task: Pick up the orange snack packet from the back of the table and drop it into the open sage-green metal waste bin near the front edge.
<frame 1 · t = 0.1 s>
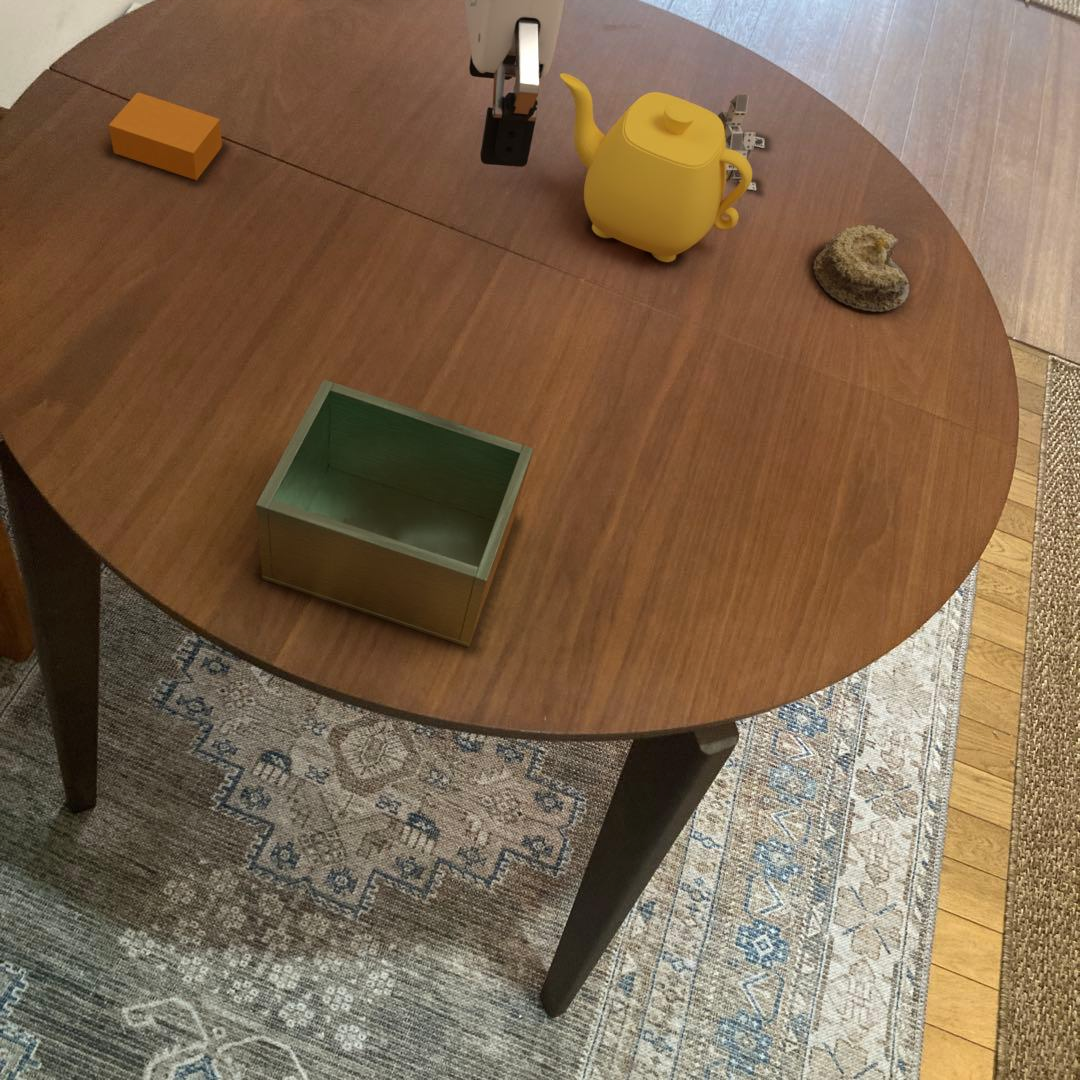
hand: (496, 117, 74), 21 cm above the table, tool pointing down, fingers open, 9 cm apart
cake: (859, 281, 105), on the table
packet: (168, 149, 97), on the table
teapot: (629, 218, 103), on the table
house of cards: (739, 164, 112), on the table
bin: (392, 549, 78), on the table
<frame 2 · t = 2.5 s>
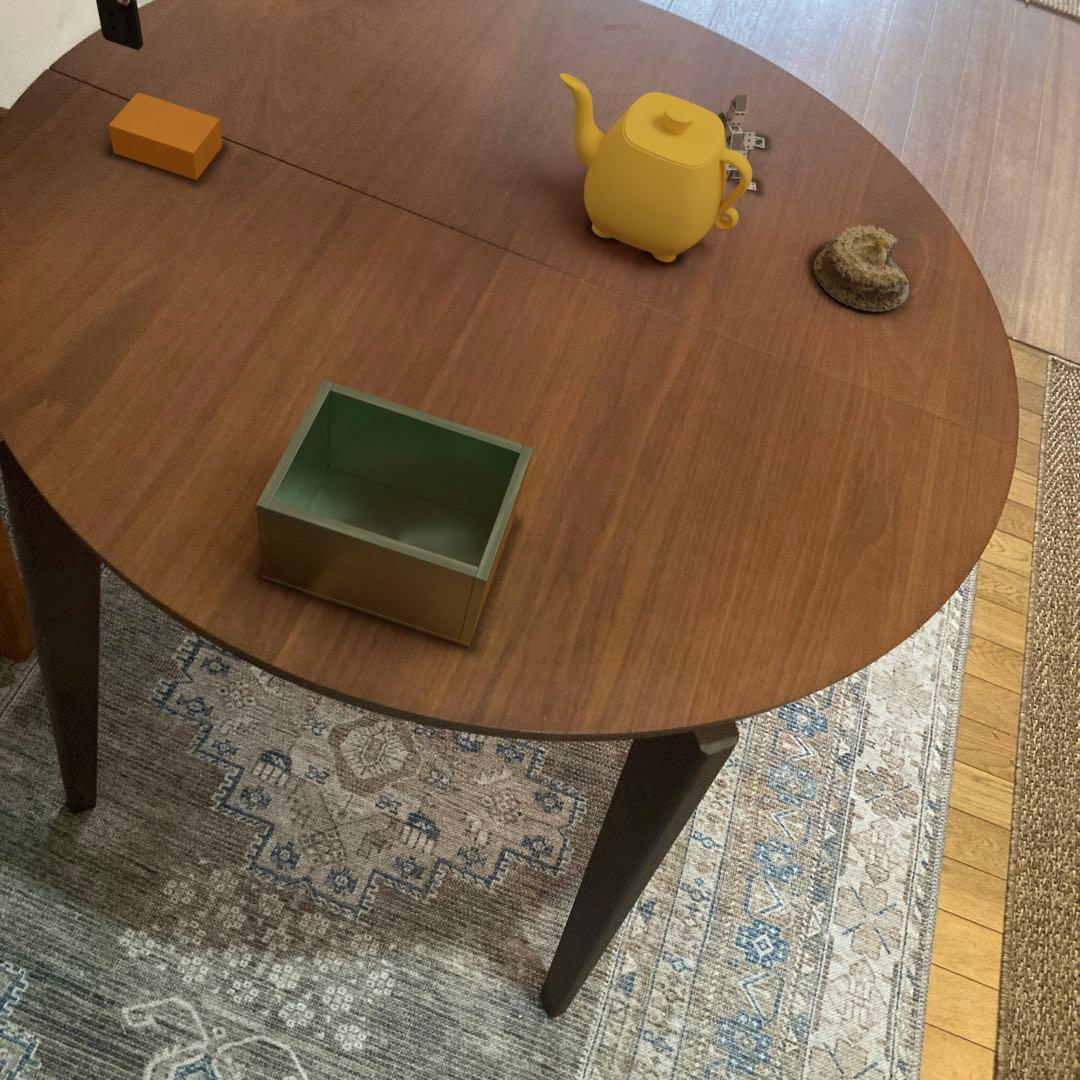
hand: (152, 12, 86), 13 cm above the table, tool pointing down, fingers open, 9 cm apart
nothing on the table moved.
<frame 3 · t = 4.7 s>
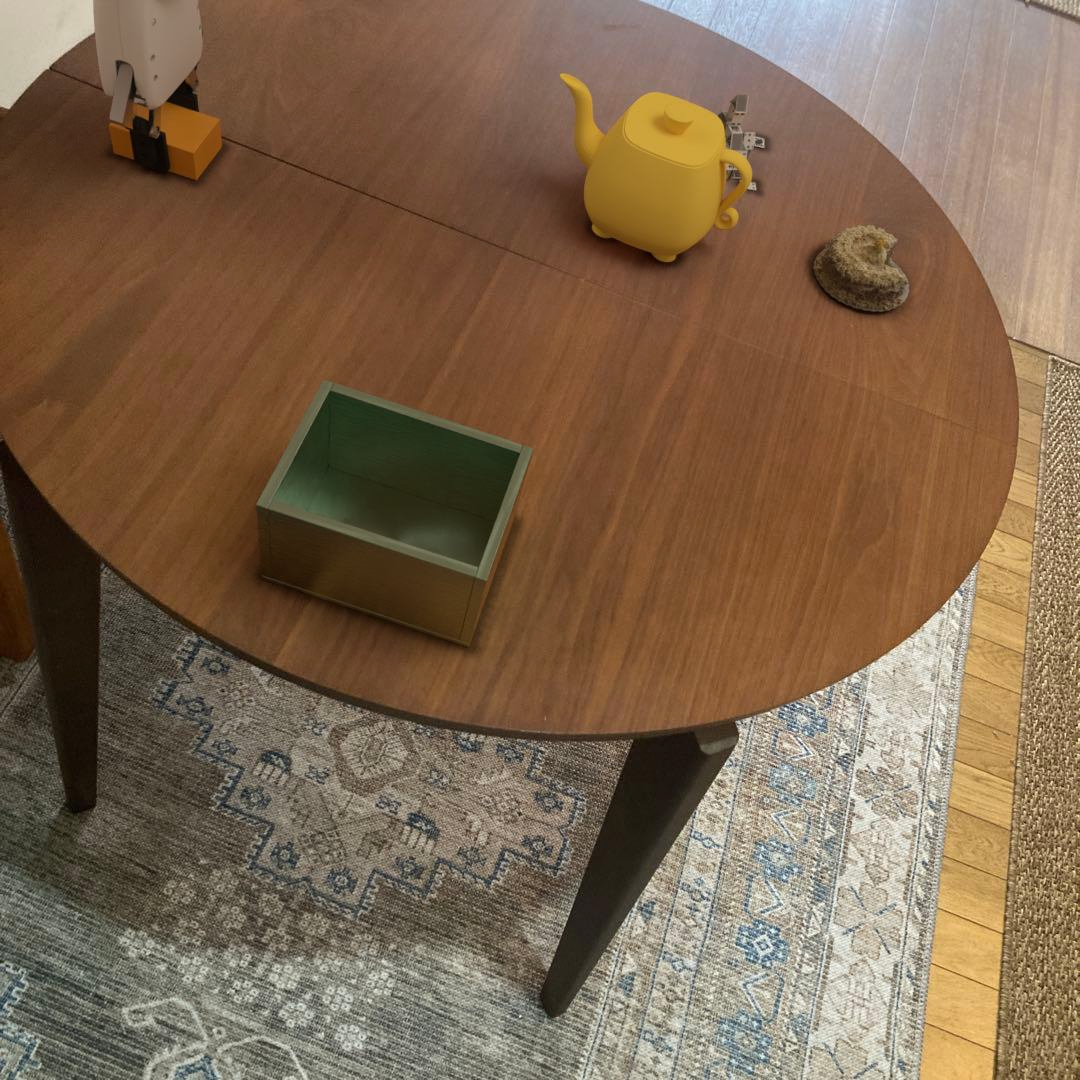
hand: (168, 145, 96), 1 cm above the table, tool pointing down, fingers closed on packet, 5 cm apart
packet: (168, 149, 97), on the table, touching gripper
everything else where it was.
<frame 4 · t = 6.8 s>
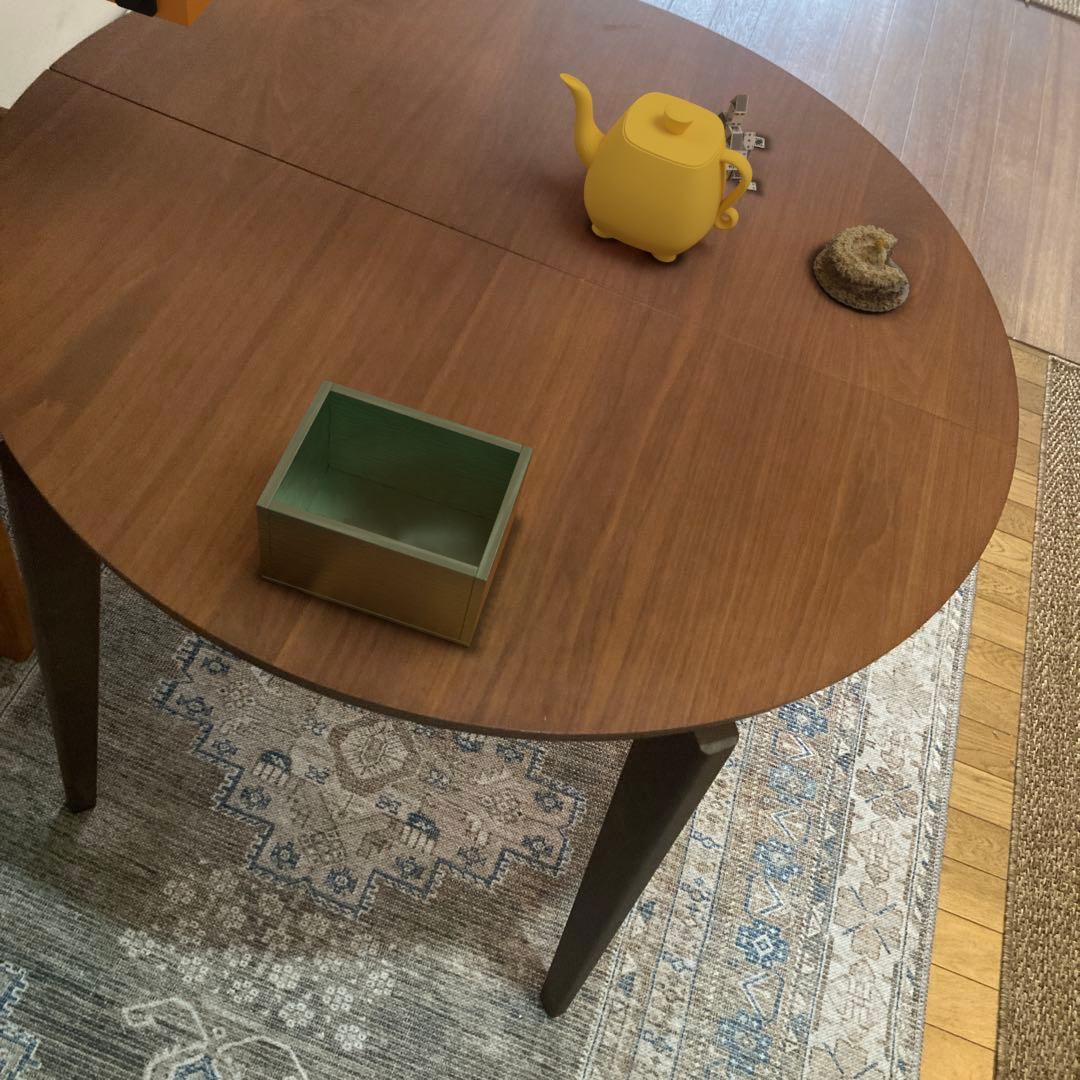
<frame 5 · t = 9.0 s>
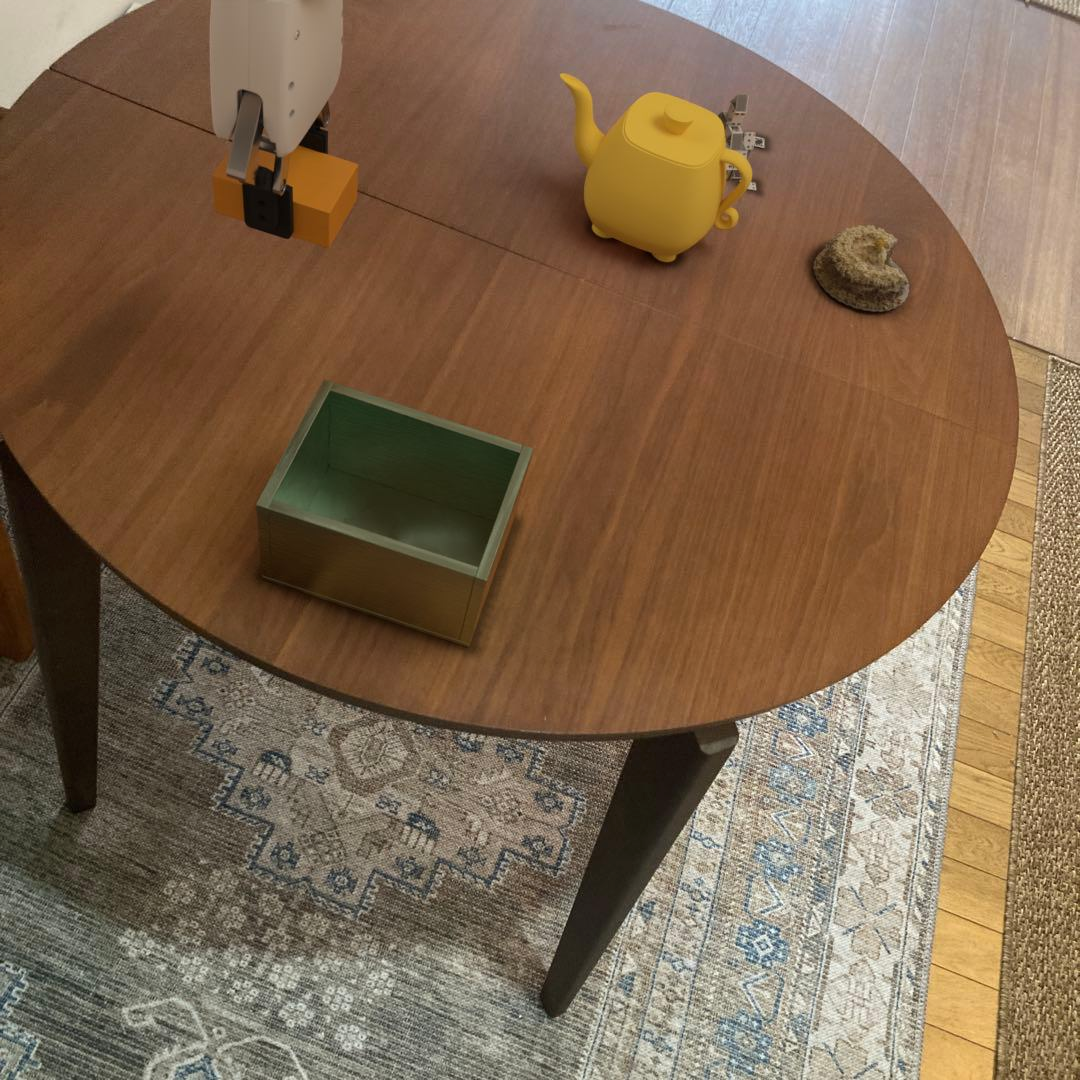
hand: (287, 200, 71), 17 cm above the table, tool pointing down, fingers closed on packet, 5 cm apart
packet: (287, 206, 71), point 17 cm above the table, touching gripper
everything else where it was.
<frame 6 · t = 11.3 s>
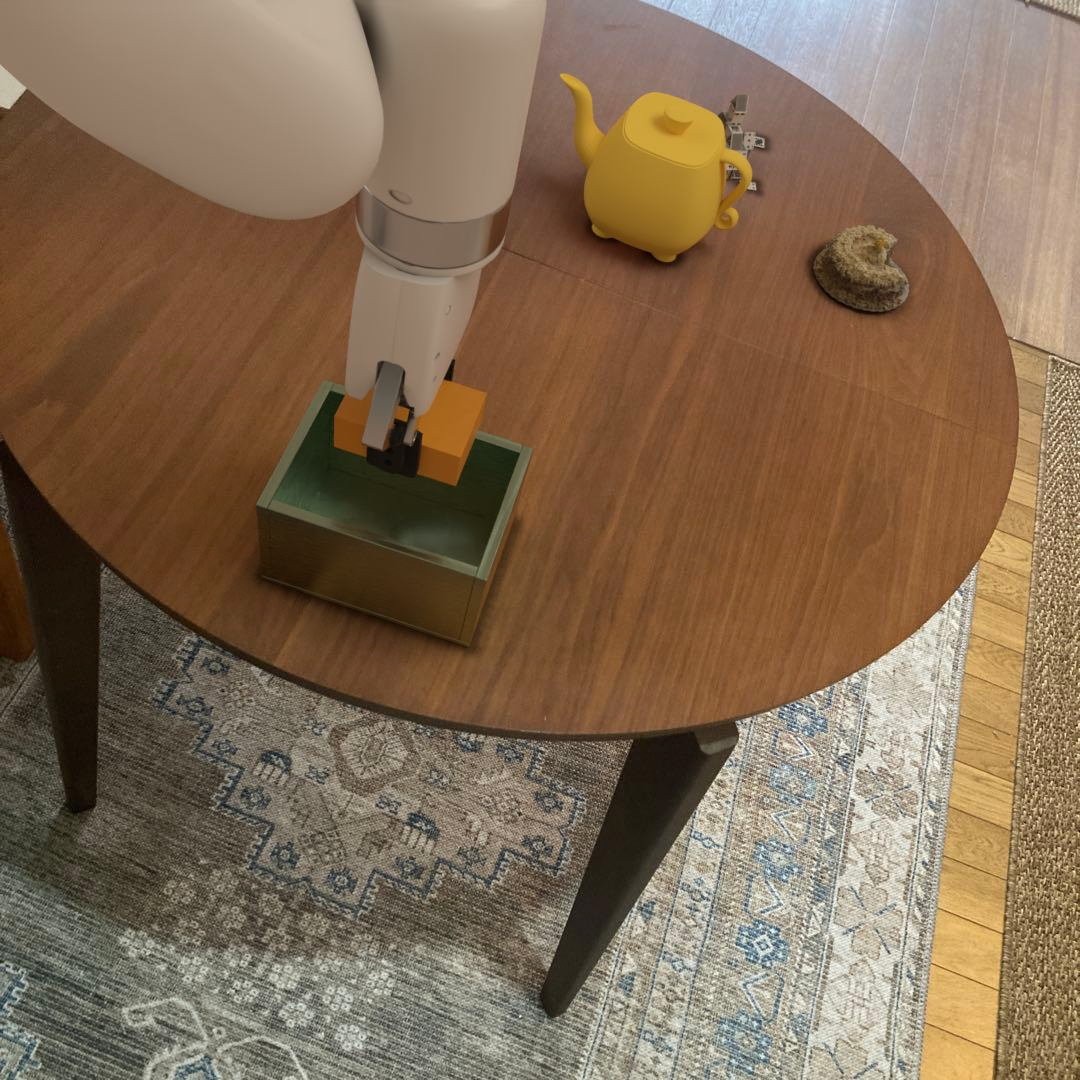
hand: (408, 429, 66), 14 cm above the table, tool pointing down, fingers closed on packet, 5 cm apart
packet: (409, 434, 66), point 14 cm above the table, touching gripper
everything else where it was.
when the fingers open (8 cm above the table, at t = 13.4 s): packet drops 7 cm, resting on bin.
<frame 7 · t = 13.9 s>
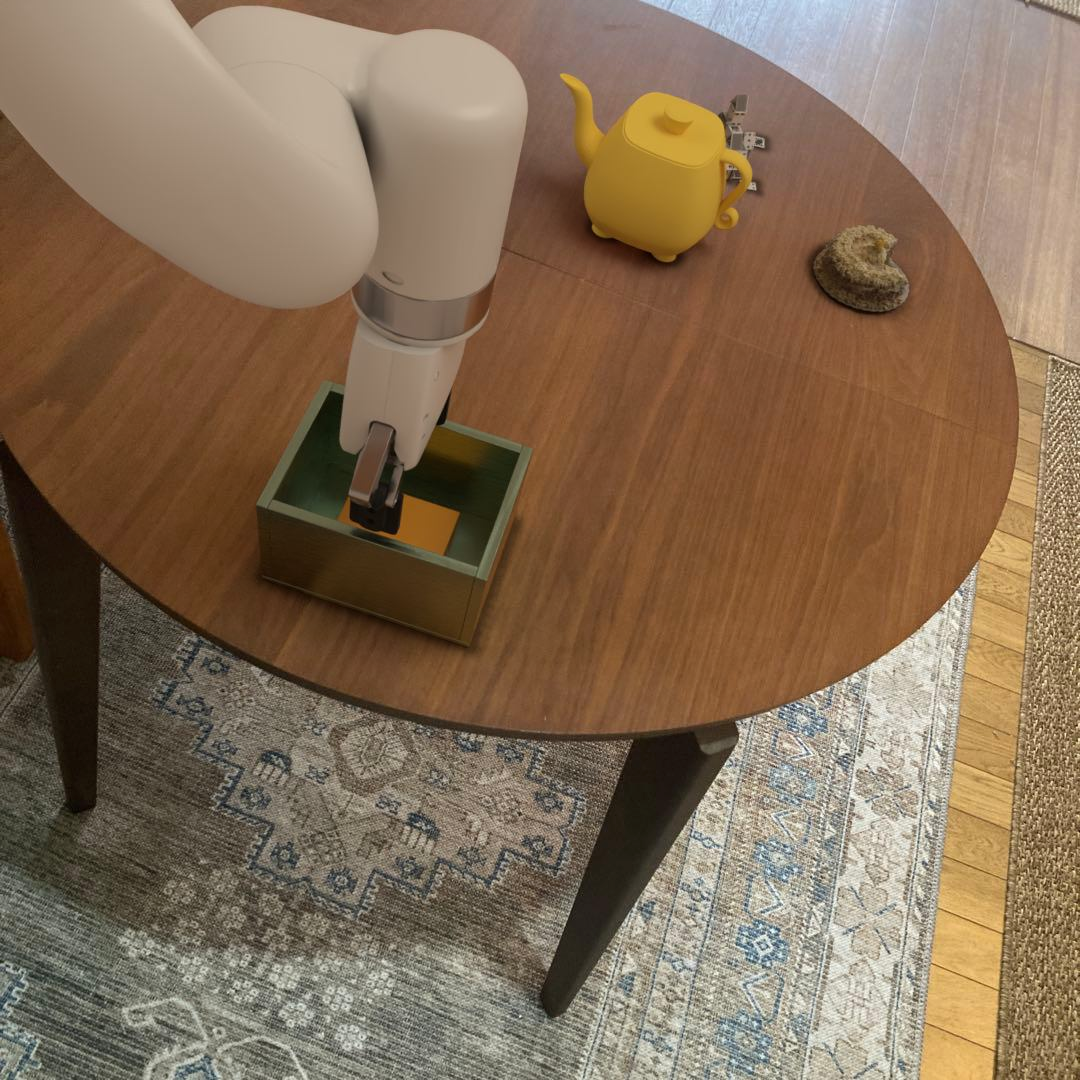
hand: (399, 468, 69), 10 cm above the table, tool pointing down, fingers open, 9 cm apart
packet: (393, 546, 77), resting on bin
everything else where it was.
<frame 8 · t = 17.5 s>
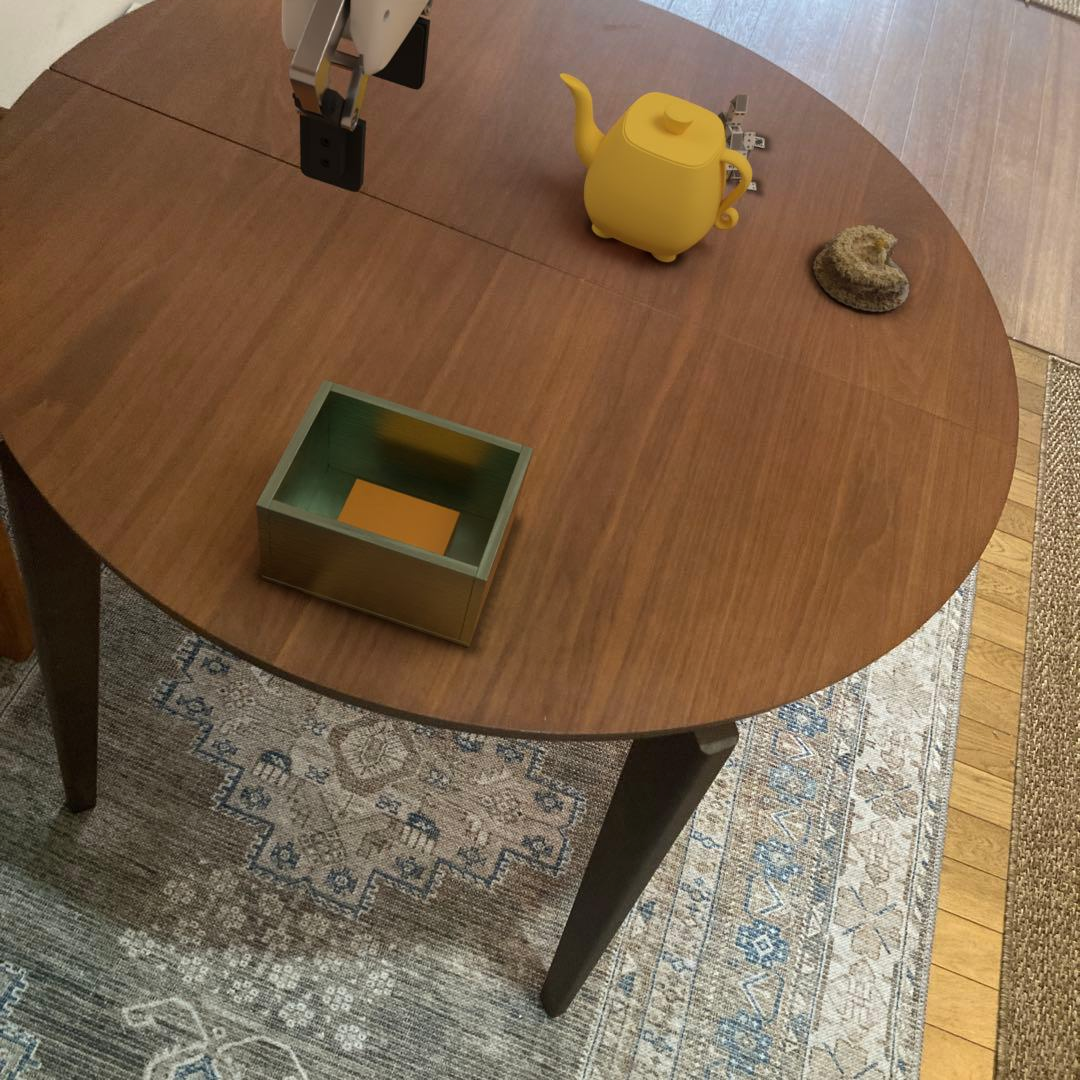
hand: (365, 128, 56), 30 cm above the table, tool pointing down, fingers open, 9 cm apart
nothing on the table moved.
at the end: bin 0.0 cm off-centre in the bin, point 0.0 cm above the bin's base; packet inside the target area in the bin (0.0 cm from its centre), point 0.5 cm above the bin's base; the gripper is holding nothing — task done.
